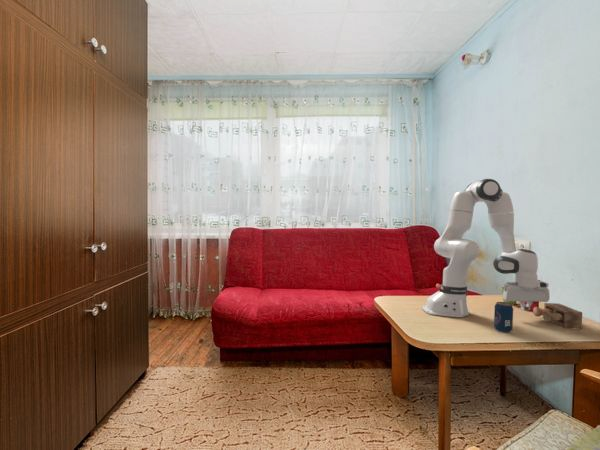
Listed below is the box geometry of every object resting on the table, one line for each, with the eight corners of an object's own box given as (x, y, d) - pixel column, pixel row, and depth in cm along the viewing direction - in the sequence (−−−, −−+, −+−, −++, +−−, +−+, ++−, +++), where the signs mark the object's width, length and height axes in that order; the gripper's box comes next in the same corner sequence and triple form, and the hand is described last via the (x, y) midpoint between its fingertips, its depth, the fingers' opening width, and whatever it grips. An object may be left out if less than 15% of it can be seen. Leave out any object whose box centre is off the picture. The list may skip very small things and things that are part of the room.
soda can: (490, 326, 142) (491, 301, 141) (506, 327, 141) (507, 301, 141) (498, 332, 135) (499, 305, 134) (515, 333, 134) (516, 306, 134)
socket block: (565, 328, 141) (565, 311, 141) (543, 317, 155) (544, 303, 155) (581, 328, 140) (582, 312, 140) (558, 318, 154) (559, 303, 154)
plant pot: (500, 300, 186) (501, 286, 185) (519, 303, 180) (520, 288, 180) (499, 304, 178) (500, 289, 178) (519, 307, 173) (520, 291, 172)
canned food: (541, 312, 163) (542, 292, 163) (524, 311, 165) (525, 291, 165) (533, 308, 171) (534, 288, 170) (517, 307, 172) (518, 287, 172)
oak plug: (549, 322, 143) (549, 313, 143) (542, 319, 147) (543, 310, 147) (568, 323, 142) (569, 314, 142) (561, 320, 147) (562, 311, 146)
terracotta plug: (538, 317, 150) (539, 308, 150) (532, 314, 154) (533, 305, 154) (557, 318, 149) (558, 309, 149) (551, 315, 153) (551, 306, 153)
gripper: (508, 283, 150) (507, 311, 151) (552, 284, 149) (551, 312, 149) (500, 280, 156) (499, 307, 157) (542, 281, 155) (542, 308, 156)
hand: (525, 310), depth 153 cm, fingers closed
